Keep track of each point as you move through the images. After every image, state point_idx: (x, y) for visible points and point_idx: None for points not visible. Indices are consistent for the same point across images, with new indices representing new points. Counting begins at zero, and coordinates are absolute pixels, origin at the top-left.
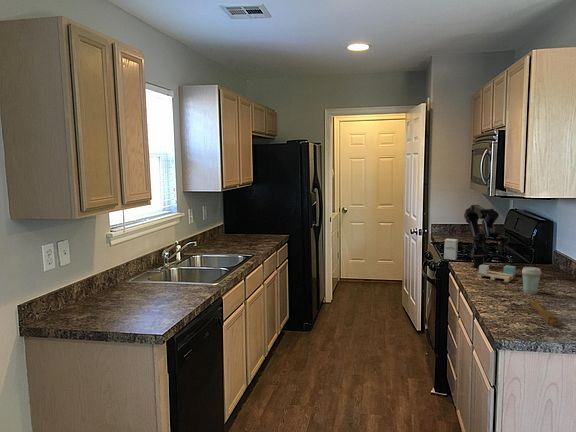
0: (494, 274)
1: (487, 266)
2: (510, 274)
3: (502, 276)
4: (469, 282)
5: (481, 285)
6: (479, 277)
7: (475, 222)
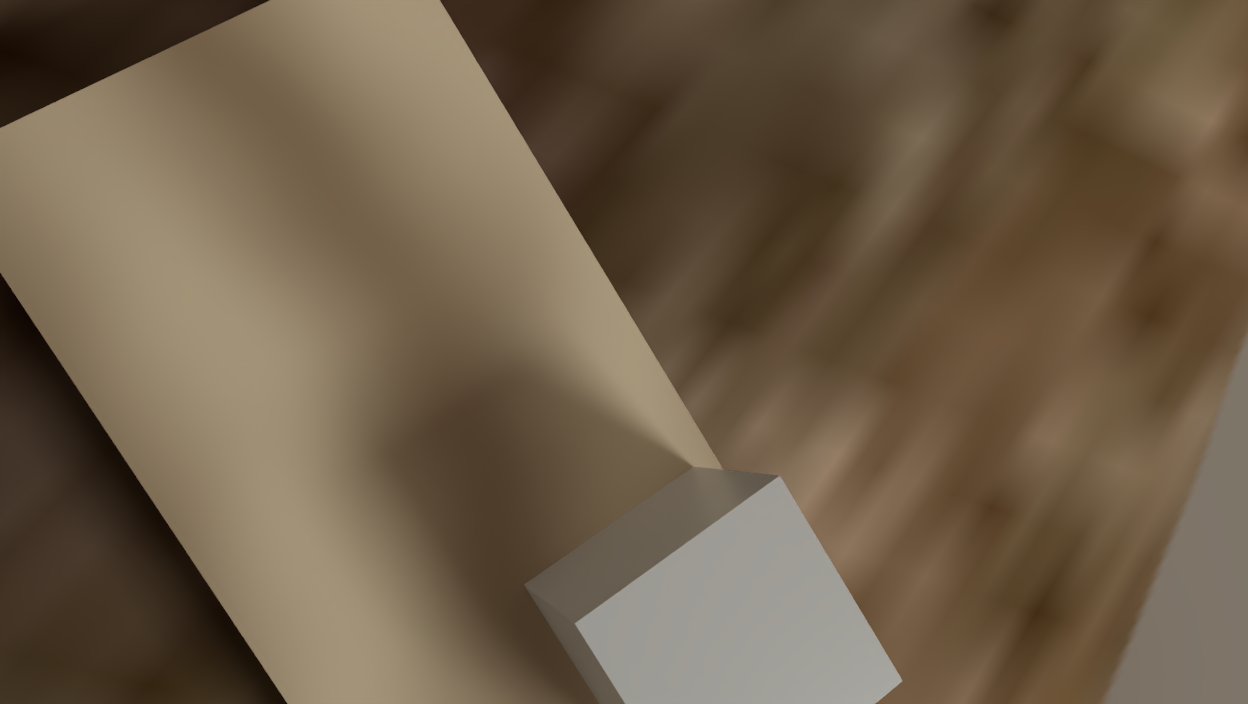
0: (515, 354)
1: (708, 525)
2: (37, 187)
3: (462, 97)
4: (1150, 305)
5: (1074, 42)
6: None
7: None
